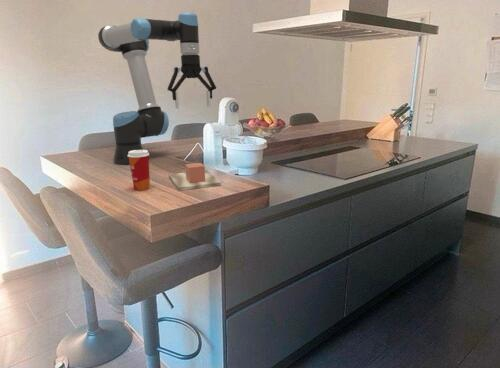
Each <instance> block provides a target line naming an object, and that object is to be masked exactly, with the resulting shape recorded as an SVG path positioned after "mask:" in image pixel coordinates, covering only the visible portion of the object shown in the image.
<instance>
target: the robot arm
mask: <svg viewBox="0 0 500 368" xmlns="http://www.w3.org/2000/svg"><path fill="white" fill-rule="evenodd" d="M177 18H178V19H177V20H174V21H173V20H167V19H166V20H163V19H162V20H161V19H153V18H150V19H149V18H144V17H135V18H132V21H131V22H128V23H124V24H120V25H112V24H111V25H105V26H103V27H102V28H100V30H99V32H98V34H97V38H98V41H99V44H100V45H101V46H102V47H103V48H104V49H106V50H108V51H110V52H117V53H121V54H122V57H123V58H124V60H126V61H127V65H128V69H129V73H130V77H131V81H132V85H133V89H134V93H135V96H136V99H137V100H136V101H137V105H138V109H137V111H136V110H129V111H122V112H119V113H117V114H115V115H113V116H112V122H113V124H112V126H113V132H114V133H113V134H114V140H115V149H114V150H115V151H114V154H113V163H114V164H116V165H130V162H129V157H128V152H129V151H132V150H142V151H143V150H144V148H143V145H142V138H148V137H159V136H161V135H164V134H166V133H167V131H168V130H169V126H170V125H169V122H170V120H169V115H168V114H167V112H166V111H163V110H162V108H161V106H160V105H159V104H157V100H156V97H155V93H154V89H153V85H152V81H151V77H150V74H149V70H148V66H147V61H146V55H148V54H147V52H148V50H149V48H150V40H152V41H153V40H155V41H156V40H158V41H159V40H160V41H167V42H176V41H179V43H180V45H179V46H180V54H181V56H180V61H181V62H180V63H181V66H180V67H178V66H175V67H173V74H172V76H171V79H170V82H169V83H168V86H167V91H169V92H171V94H172V100H173V101H175V109H180V108H179V106H180V104H179V103H180V102H179V92H178V91H177V90H178V89H179V88H180V87H181V85H182V83H183V82H184V81H185V80H186V79H198V80H199V81H200V83H202V84H203V86H204V87H205V88H206V89H207V90H206V107H208V108H210V107H211V99H213V91H214V90H216V89H217V86H216V84H215V82H214V80H213V78H212V76H211V75H210V73H209V67H208V66H201V62H200V61H201V57H200V55H199V54H200V44H199V43H200V40H199V38H200V37H199V22H198V21H199V20H198V15H197V13H194V12H180V13H179V14H178V17H177ZM180 72H181V73H182V75H181V76H180V78H179V79H178V80H177V82H176V79H177V77H178V74H179V73H180ZM202 72H203V73H204V75H205V78H206V80H207V81H208V82H207V81H206V80H205V78H203V76H202V75H201V74H200V73H202ZM175 82H176V84H175Z"/></svg>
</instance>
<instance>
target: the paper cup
mask: <svg viewBox="0 0 500 368" xmlns="http://www.w3.org/2000/svg"><path fill="white" fill-rule="evenodd" d="M149 156H150V153H149V151H148V150H147V149H143V151H142V150H132V151H129V152H128V157H129V162H130V164H129V166H130V167H129V168H130V173H131V179H132V184H133V189H134V190H135V191H145V190H149V189H150V187H151V186H150V185H151V183H150V182H151V181H150V180H151V179H150V160H149Z"/></svg>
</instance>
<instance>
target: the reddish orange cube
mask: <svg viewBox="0 0 500 368" xmlns="http://www.w3.org/2000/svg"><path fill="white" fill-rule="evenodd" d="M184 166H185V167H184V168H185V172H186V180H187V181H188V182H189V183H196V182H204V181H205V170H206V167H205V165H204V164H203V163H202V162H195V163H194V162H192V163H185V165H184Z"/></svg>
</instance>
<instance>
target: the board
mask: <svg viewBox="0 0 500 368" xmlns="http://www.w3.org/2000/svg"><path fill="white" fill-rule="evenodd" d="M168 178H169V180H170V181H171V182H172V183H173V185H174V186H175V188H176V189H177V190H178V192H180V191H187V190H197V189H204V188H209V187H210V188H211V187H218V186H219V187H220V186H222V182H221V181H220V180H219V179H218V178H216V177H215V176H214V175H213V174H212V173H211V172H209V171H208V169H205V181H204V182H196V183H189V182H188V181H187V180H186V171H185V172H179V173H169V174H168Z"/></svg>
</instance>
